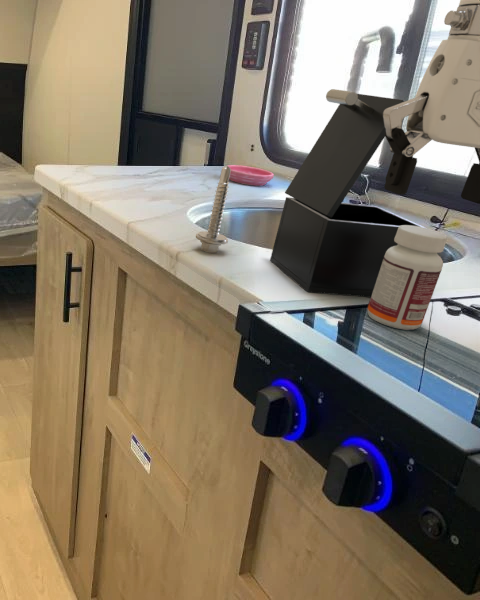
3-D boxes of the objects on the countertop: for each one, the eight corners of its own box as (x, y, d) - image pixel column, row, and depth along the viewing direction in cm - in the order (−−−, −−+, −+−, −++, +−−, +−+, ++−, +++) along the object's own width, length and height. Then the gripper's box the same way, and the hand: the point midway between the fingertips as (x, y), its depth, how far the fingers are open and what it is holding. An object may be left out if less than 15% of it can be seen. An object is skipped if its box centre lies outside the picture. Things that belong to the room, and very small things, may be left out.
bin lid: (351, 94, 82) (321, 76, 80) (407, 102, 70) (374, 81, 69) (288, 195, 87) (259, 179, 85) (331, 218, 75) (299, 200, 74)
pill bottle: (417, 318, 74) (449, 231, 70) (422, 336, 69) (457, 242, 65) (364, 306, 76) (392, 220, 72) (365, 322, 71) (396, 230, 67)
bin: (358, 268, 92) (378, 206, 89) (408, 300, 81) (432, 230, 77) (269, 260, 90) (285, 197, 87) (307, 292, 79) (328, 220, 75)
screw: (190, 251, 90) (196, 243, 94) (222, 258, 89) (226, 249, 93) (208, 164, 85) (213, 160, 89) (242, 170, 84) (245, 166, 88)
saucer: (272, 189, 149) (275, 177, 148) (222, 181, 151) (224, 169, 150) (269, 181, 160) (272, 169, 159) (223, 174, 162) (225, 162, 161)
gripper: (441, 16, 56) (382, 196, 62) (599, 42, 58) (527, 213, 65) (393, 19, 63) (345, 181, 69) (537, 43, 65) (477, 197, 72)
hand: (433, 196), depth 67 cm, fingers open, 9 cm apart
